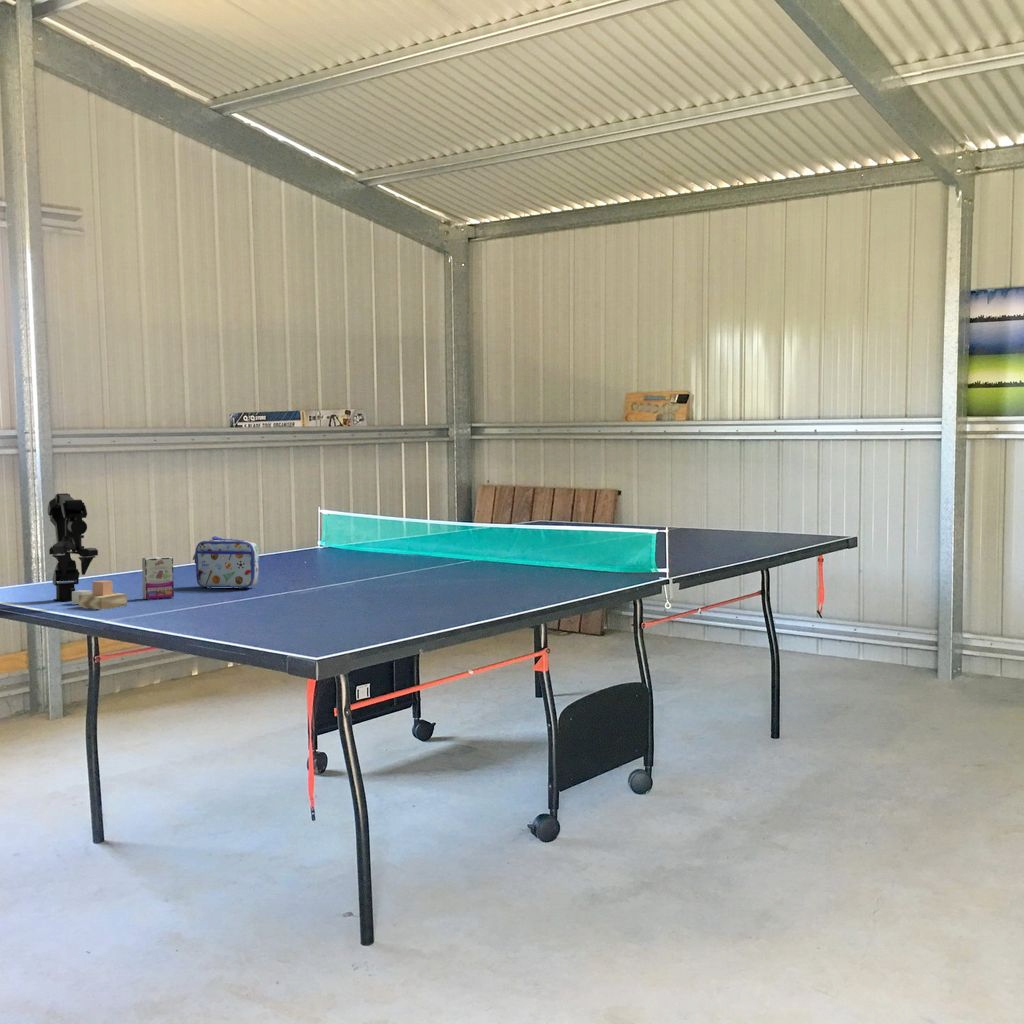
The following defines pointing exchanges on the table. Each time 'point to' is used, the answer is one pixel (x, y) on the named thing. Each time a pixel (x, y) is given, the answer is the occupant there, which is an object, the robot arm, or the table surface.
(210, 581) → the lunch box
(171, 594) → the candy bar box
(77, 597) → the white cube
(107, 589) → the terracotta cube
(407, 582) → the table surface
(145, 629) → the table surface
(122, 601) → the maple block
